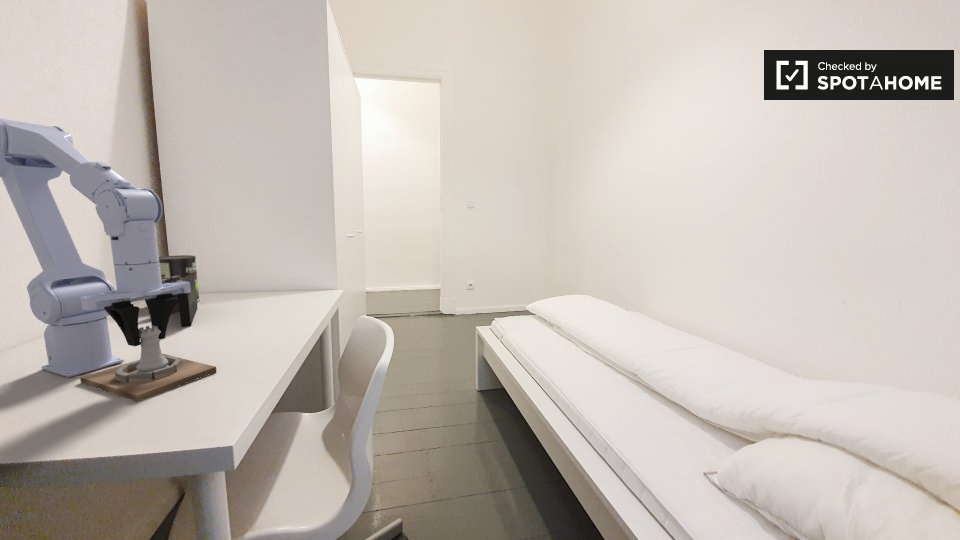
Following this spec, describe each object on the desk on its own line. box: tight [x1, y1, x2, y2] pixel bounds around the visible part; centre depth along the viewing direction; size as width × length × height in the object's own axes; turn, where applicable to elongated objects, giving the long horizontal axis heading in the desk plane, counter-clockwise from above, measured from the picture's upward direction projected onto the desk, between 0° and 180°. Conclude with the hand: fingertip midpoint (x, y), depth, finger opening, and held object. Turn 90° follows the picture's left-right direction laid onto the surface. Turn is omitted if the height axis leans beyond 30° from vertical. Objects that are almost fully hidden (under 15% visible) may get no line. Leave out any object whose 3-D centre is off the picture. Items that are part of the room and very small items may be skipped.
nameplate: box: [178, 275, 198, 328], centre depth 105 cm, size 21×2×10 cm, turn 32°
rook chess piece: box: [136, 325, 169, 373], centre depth 67 cm, size 4×4×8 cm
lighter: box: [161, 276, 180, 316], centre depth 109 cm, size 8×3×10 cm, turn 179°
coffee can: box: [159, 254, 201, 303], centre depth 120 cm, size 10×10×14 cm
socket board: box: [79, 353, 217, 403], centre depth 68 cm, size 16×12×2 cm
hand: (146, 341), depth 67 cm, fingers closed on rook chess piece, 3 cm apart
